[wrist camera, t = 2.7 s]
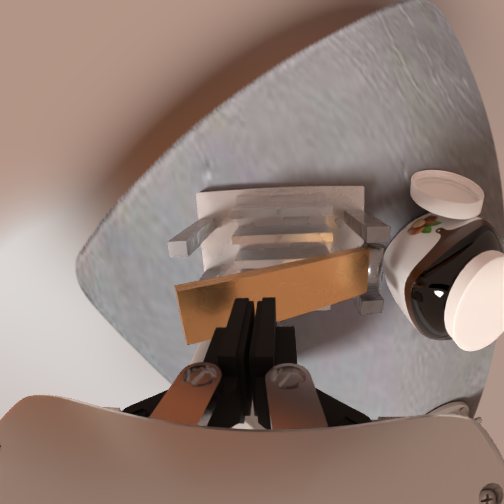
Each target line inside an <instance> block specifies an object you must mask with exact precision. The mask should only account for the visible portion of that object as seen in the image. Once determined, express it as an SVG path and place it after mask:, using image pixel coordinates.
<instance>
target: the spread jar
mask: <svg viewBox="0 0 504 504" xmlns="http://www.w3.org/2000/svg"><path fill="white" fill-rule="evenodd" d="M410 194H411V197H412V199H413V200H414V201H415V202H416V203H417V204H418V205H419V206H420V207H422V208H424V209H425V210H427V211H429V213H426V214H423V215H421V216H419V217H416V218H415V219H413V220H411V221H409V222H408V223H407V224H405V225H404V226H403V227H402V228H401V229H400V230H399V231H398V232H397V233H396V235H395V236H394V237H393V239H392V240H391V241H390V243H389V245H388V246H387V248H386V251H385V253H384V262H383V270H384V274H385V278H386V282H387V285H388V287H389V290H390V292H391V294H392V296H393V298H394V299H395V301H396V303H397V304H398V306H399V307H400V309H401V310H402V311H403V313H404V314H405V315H406V317H407V318H408V320H409V321H410V322H411V323H412V325H413V326H414V327H415V328H416V329H417V330H418V331H419V332H420V333H421V334H422V335H424V336H426V337H428V338H430V339H434V340H452V339H453V340H454V341H455V343H456V344H457V345H458V346H459V348H461V349H463V350H465V351H476V350H479V349H482V348H484V347H486V346H487V345H489V344H490V343H492V342H493V341H494V340H496V339H497V338H498V337H499V336H500V335H501V334H502V332H503V331H504V248H503V245H502V243H501V240H500V238H499V236H498V234H497V232H496V230H495V229H494V228H493V227H492V226H491V225H490V224H489V223H488V222H487V221H486V220H484V219H482V218H480V217H477V216H478V215H479V214H480V213H481V210H482V205H483V200H484V192H483V190H482V189H481V187H480V186H479V185H477V184H476V183H475V182H473V181H472V180H470V179H468V178H466V177H464V176H461V175H459V174H455V173H452V172H447V171H441V170H424V171H419V172H417V173H415V174H413V176H412V178H411V188H410Z"/></svg>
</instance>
